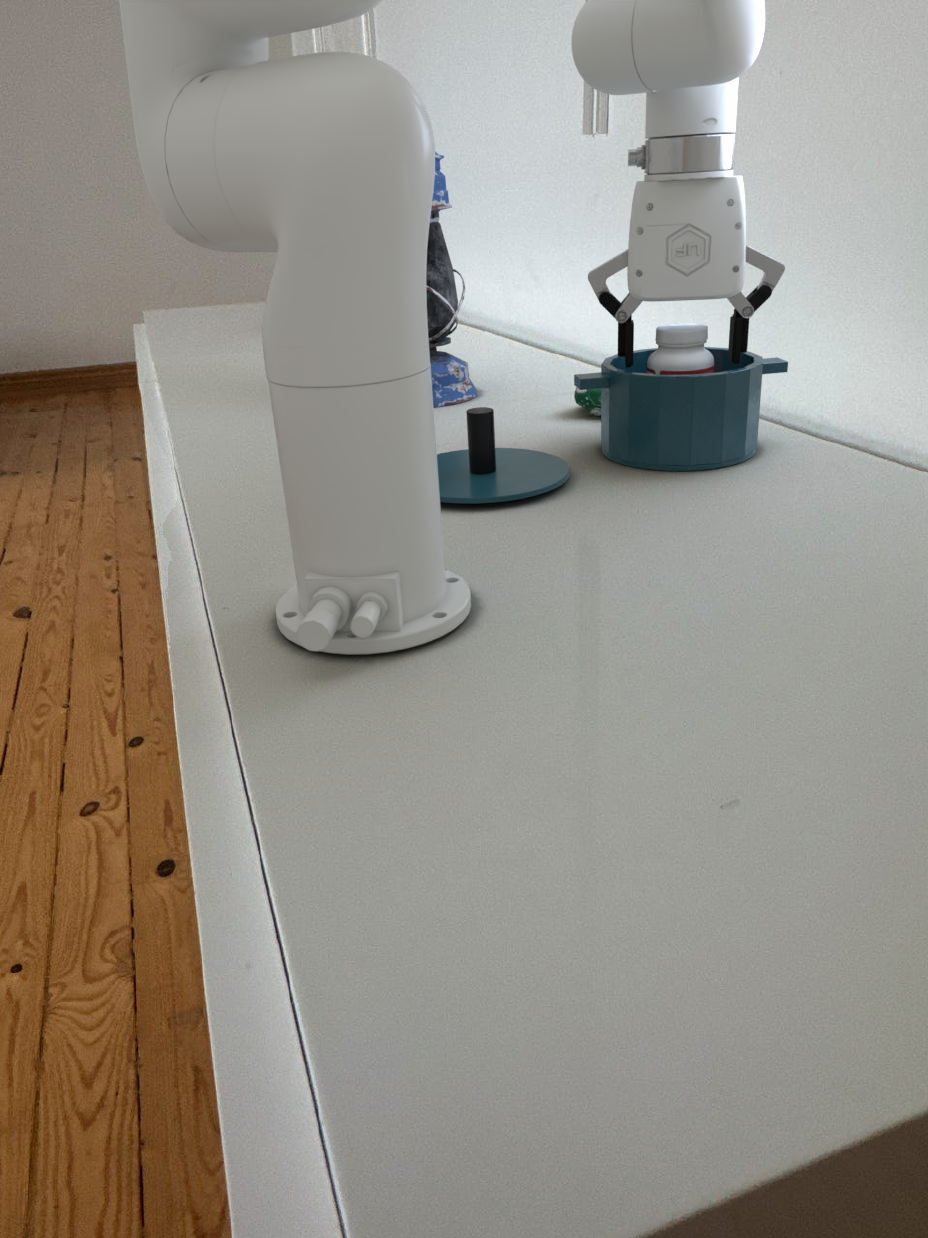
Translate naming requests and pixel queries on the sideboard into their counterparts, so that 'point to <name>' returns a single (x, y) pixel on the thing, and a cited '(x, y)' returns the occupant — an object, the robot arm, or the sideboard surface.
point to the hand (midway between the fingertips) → (680, 362)
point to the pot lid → (495, 467)
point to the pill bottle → (681, 351)
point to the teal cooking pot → (680, 411)
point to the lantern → (443, 307)
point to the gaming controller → (589, 399)
